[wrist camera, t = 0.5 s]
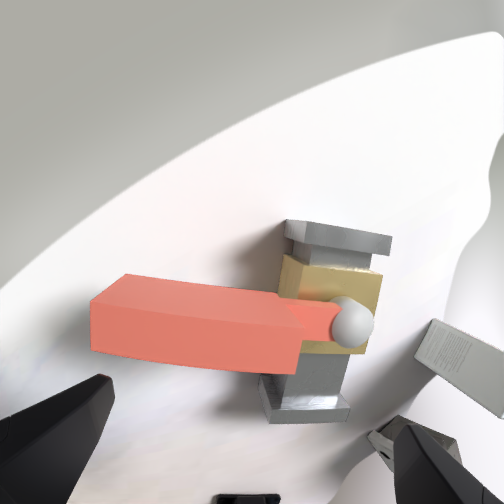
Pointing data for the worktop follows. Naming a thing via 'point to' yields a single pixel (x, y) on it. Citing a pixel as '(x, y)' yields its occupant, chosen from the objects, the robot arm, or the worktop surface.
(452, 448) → the electrical switch
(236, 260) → the worktop surface
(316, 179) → the worktop surface
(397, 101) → the worktop surface
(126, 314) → the lever
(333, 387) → the valve body
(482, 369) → the skincare box
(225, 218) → the worktop surface
